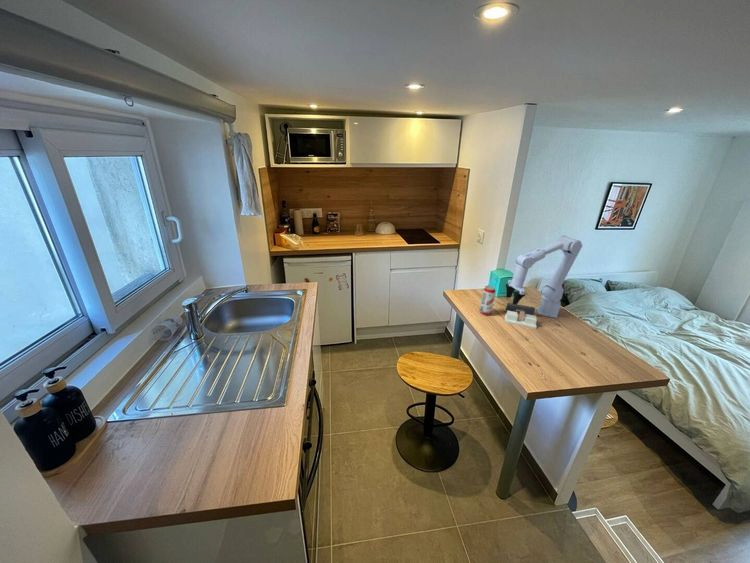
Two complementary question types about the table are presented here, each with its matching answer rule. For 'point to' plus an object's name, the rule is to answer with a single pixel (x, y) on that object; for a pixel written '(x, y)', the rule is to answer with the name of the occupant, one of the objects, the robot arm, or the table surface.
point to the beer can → (487, 300)
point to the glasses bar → (520, 308)
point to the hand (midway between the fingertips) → (511, 300)
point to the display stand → (521, 319)
